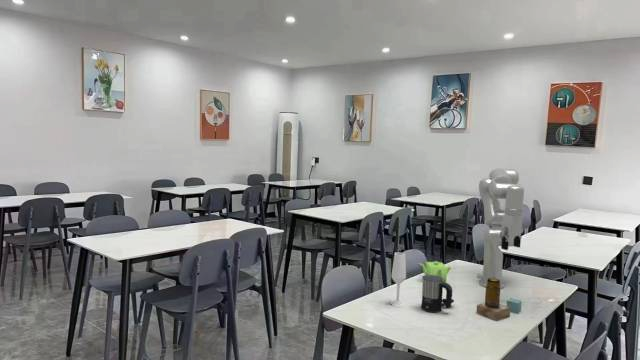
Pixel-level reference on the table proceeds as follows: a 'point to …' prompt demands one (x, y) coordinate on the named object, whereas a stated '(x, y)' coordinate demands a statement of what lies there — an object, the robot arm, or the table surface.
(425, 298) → the milk frother
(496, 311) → the block
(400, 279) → the champagne flute
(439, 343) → the table surface
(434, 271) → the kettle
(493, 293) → the condiment
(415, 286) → the table surface
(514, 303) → the teal cube
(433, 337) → the table surface
